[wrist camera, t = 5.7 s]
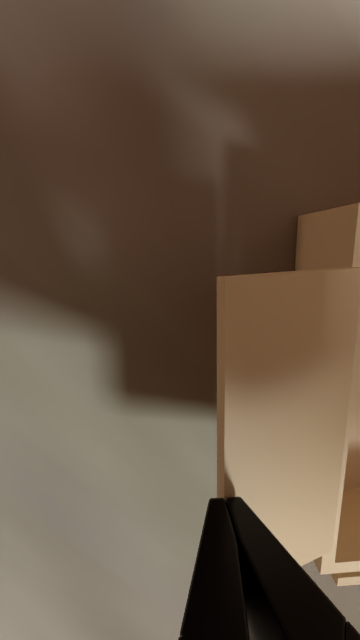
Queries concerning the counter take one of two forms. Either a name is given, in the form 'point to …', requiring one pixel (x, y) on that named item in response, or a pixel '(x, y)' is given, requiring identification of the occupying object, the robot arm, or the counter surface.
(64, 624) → the counter surface
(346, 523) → the carton
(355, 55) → the counter surface
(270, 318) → the flap
